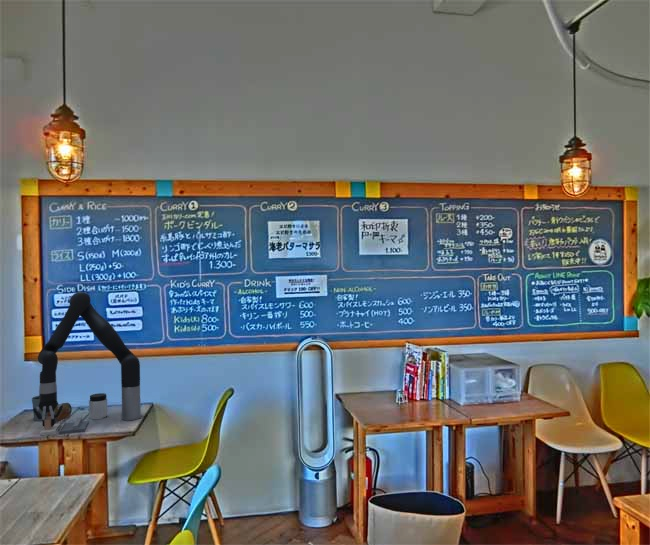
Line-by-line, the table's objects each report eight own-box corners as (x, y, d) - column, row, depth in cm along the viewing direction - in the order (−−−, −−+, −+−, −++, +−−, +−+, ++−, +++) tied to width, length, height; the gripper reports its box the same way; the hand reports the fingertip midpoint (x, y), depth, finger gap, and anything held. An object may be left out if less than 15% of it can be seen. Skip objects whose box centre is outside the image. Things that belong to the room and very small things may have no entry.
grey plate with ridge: (88, 423, 252) (88, 416, 252) (84, 432, 238) (84, 424, 238) (64, 425, 248) (64, 419, 248) (59, 434, 234) (59, 427, 234)
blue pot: (55, 415, 268) (55, 393, 268) (51, 420, 258) (51, 398, 258) (34, 417, 265) (34, 395, 265) (29, 422, 255) (29, 399, 255)
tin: (51, 424, 251) (51, 408, 251) (46, 424, 252) (46, 408, 252) (72, 416, 266) (72, 400, 266) (67, 416, 266) (67, 400, 266)
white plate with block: (61, 426, 246) (61, 413, 246) (56, 433, 235) (56, 420, 235) (45, 428, 244) (45, 415, 244) (40, 435, 233) (40, 422, 233)
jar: (99, 419, 258) (99, 397, 258) (86, 419, 259) (85, 396, 259) (110, 415, 266) (110, 393, 267) (97, 414, 268) (96, 392, 268)
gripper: (65, 388, 245) (65, 422, 245) (33, 391, 241) (34, 426, 241) (62, 391, 238) (63, 427, 238) (30, 394, 233) (30, 430, 233)
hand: (48, 426), depth 239 cm, fingers closed on white plate with block, 2 cm apart
